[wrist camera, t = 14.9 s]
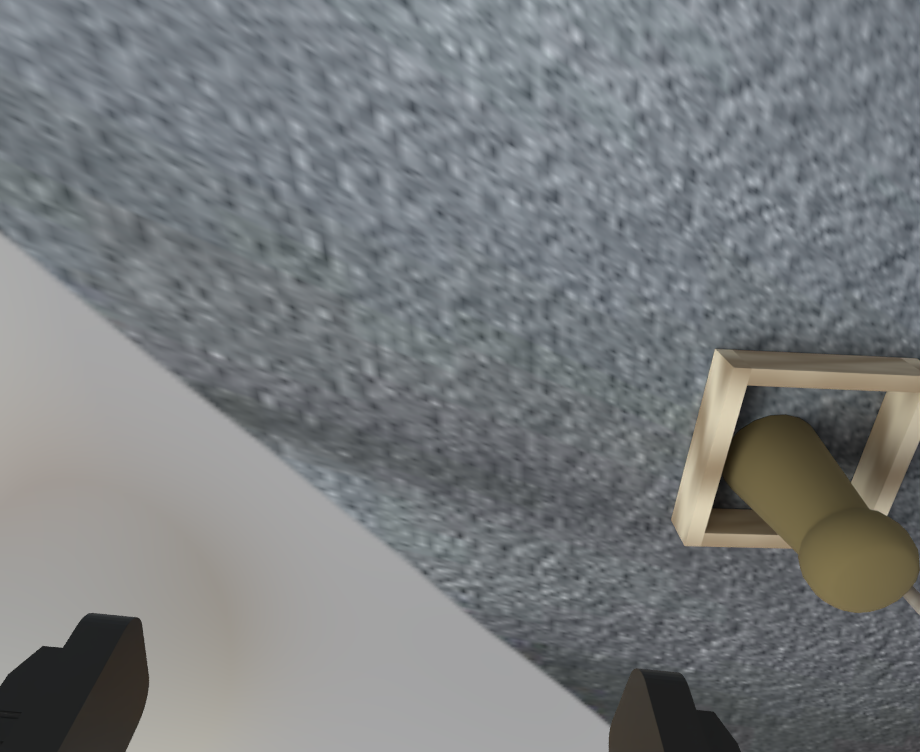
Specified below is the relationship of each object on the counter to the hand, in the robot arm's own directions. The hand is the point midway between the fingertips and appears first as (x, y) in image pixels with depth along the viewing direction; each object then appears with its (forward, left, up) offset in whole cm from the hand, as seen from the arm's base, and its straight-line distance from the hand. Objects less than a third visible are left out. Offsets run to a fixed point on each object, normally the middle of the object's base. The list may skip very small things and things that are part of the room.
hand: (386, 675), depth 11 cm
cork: (+12, +23, -26) cm, 36 cm away
